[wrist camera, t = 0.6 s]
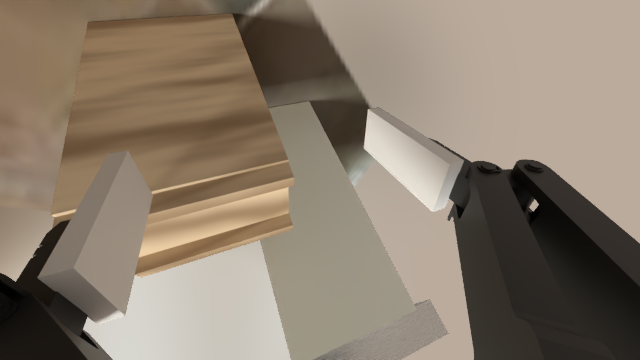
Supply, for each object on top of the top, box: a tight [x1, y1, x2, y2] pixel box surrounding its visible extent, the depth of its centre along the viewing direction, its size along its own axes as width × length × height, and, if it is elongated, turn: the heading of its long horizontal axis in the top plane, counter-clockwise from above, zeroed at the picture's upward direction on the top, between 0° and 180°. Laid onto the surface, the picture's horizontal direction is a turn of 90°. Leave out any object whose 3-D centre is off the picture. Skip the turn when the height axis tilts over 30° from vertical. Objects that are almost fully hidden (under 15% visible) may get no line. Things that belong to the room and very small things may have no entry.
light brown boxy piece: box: [51, 14, 294, 277], centre depth 22 cm, size 9×12×20 cm
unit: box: [260, 101, 417, 360], centre depth 34 cm, size 12×12×30 cm
